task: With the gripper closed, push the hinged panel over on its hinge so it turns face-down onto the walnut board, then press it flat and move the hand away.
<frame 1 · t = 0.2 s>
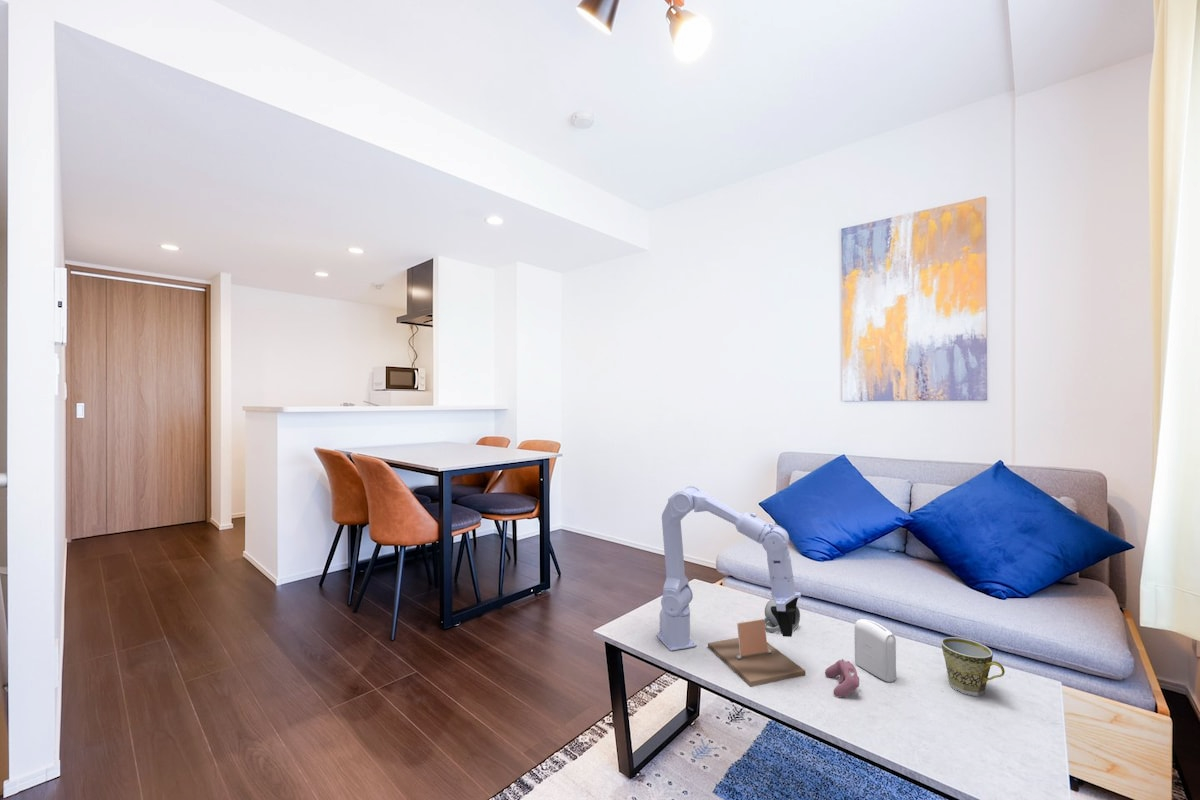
hand: (789, 629, 128), 11 cm above the table, tool pointing down, fingers open, 7 cm apart
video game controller: (842, 688, 121), on the table
hinged panel: (752, 638, 134), point 6 cm above the table, hinge at 80.0°
photo printer: (874, 672, 128), on the table
board: (754, 660, 133), on the table
ceramic mug: (779, 628, 152), on the table
ceramic cup: (972, 692, 119), on the table
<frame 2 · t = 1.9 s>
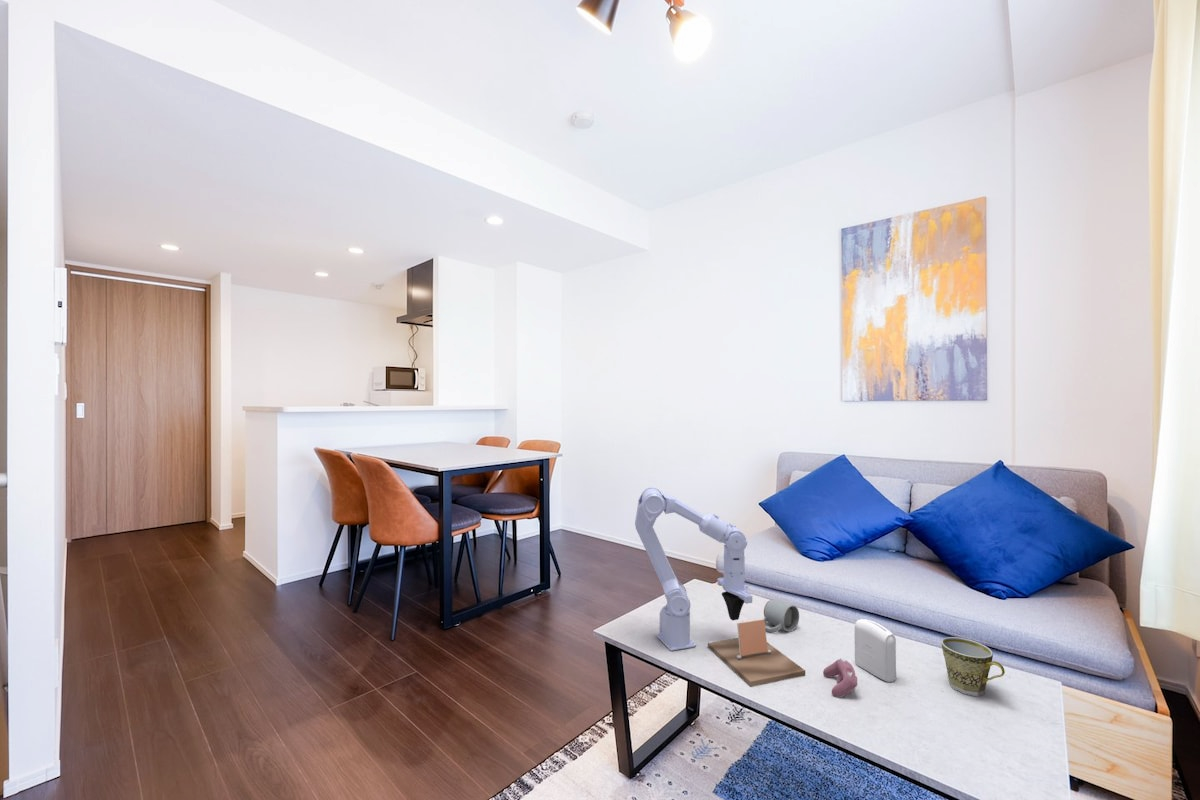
hand: (734, 619, 142), 7 cm above the table, tool pointing down, fingers closed
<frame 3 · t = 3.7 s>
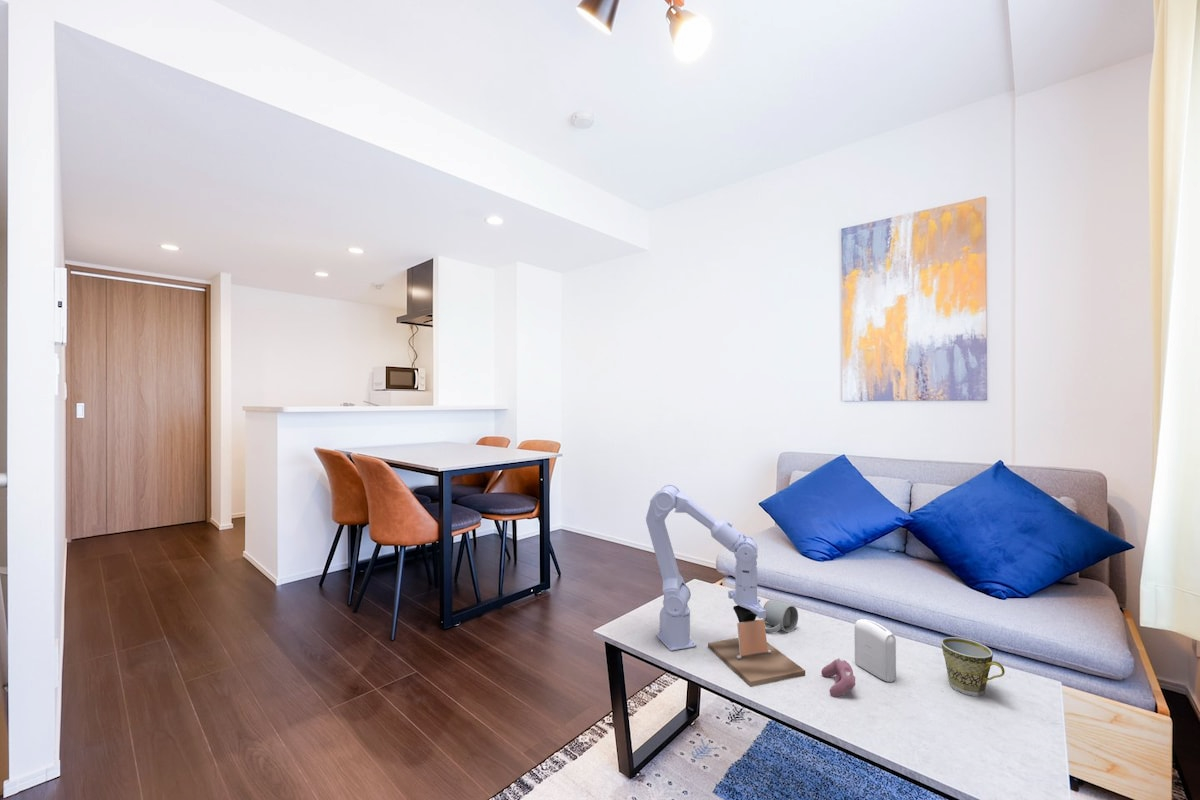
hand: (746, 633, 137), 5 cm above the table, tool pointing down, fingers closed
hinged panel: (752, 638, 134), point 6 cm above the table, hinge at 80.0°, touching gripper
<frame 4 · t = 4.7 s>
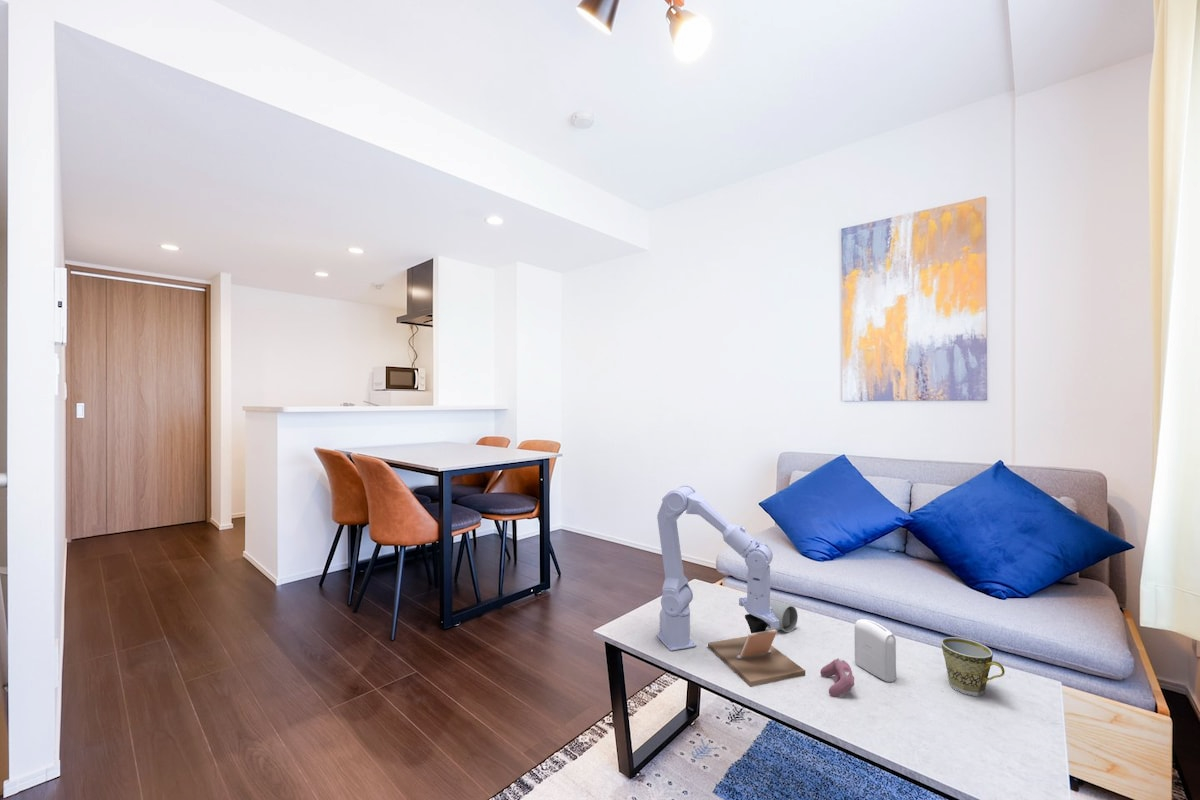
hand: (757, 643, 132), 5 cm above the table, tool pointing down, fingers closed, pressing on hinged panel
hinged panel: (758, 644, 131), point 5 cm above the table, hinge at 117.0°, touching gripper
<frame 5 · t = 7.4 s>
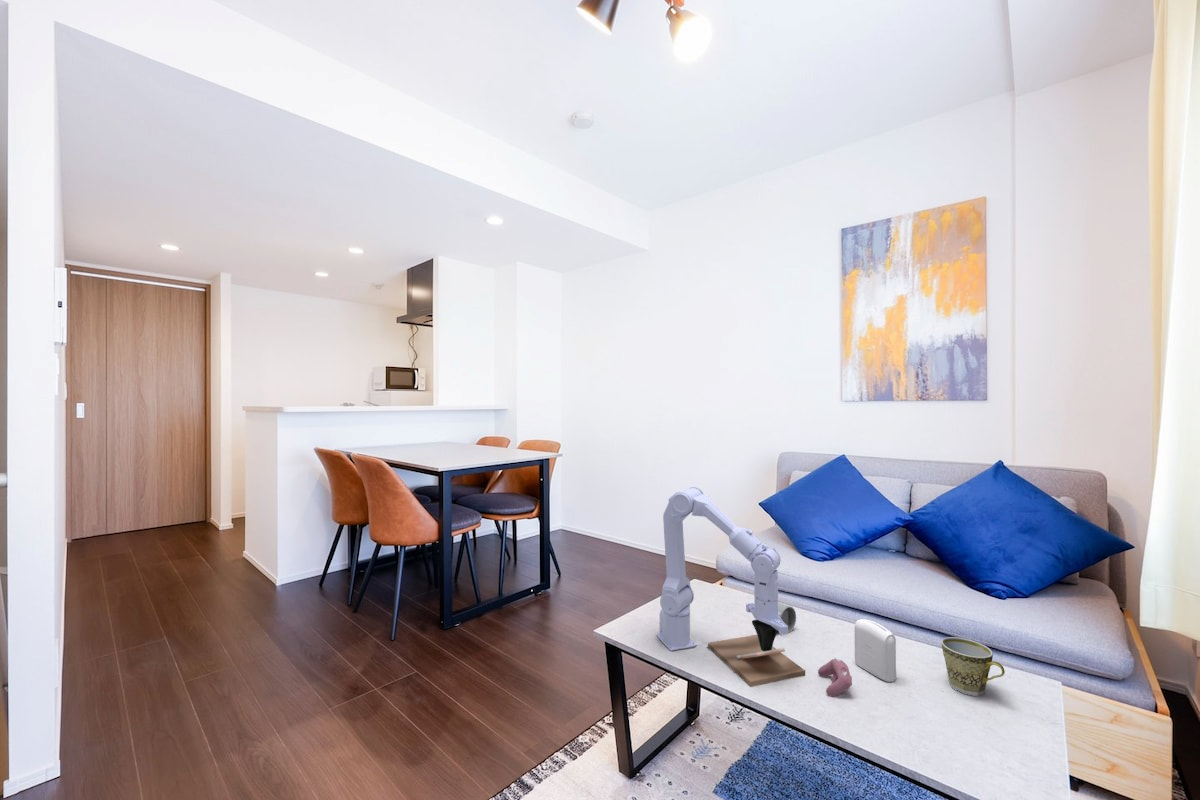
hand: (766, 650, 128), 5 cm above the table, tool pointing down, fingers closed
hinged panel: (762, 653, 130), point 4 cm above the table, hinge at 150.3°, touching gripper
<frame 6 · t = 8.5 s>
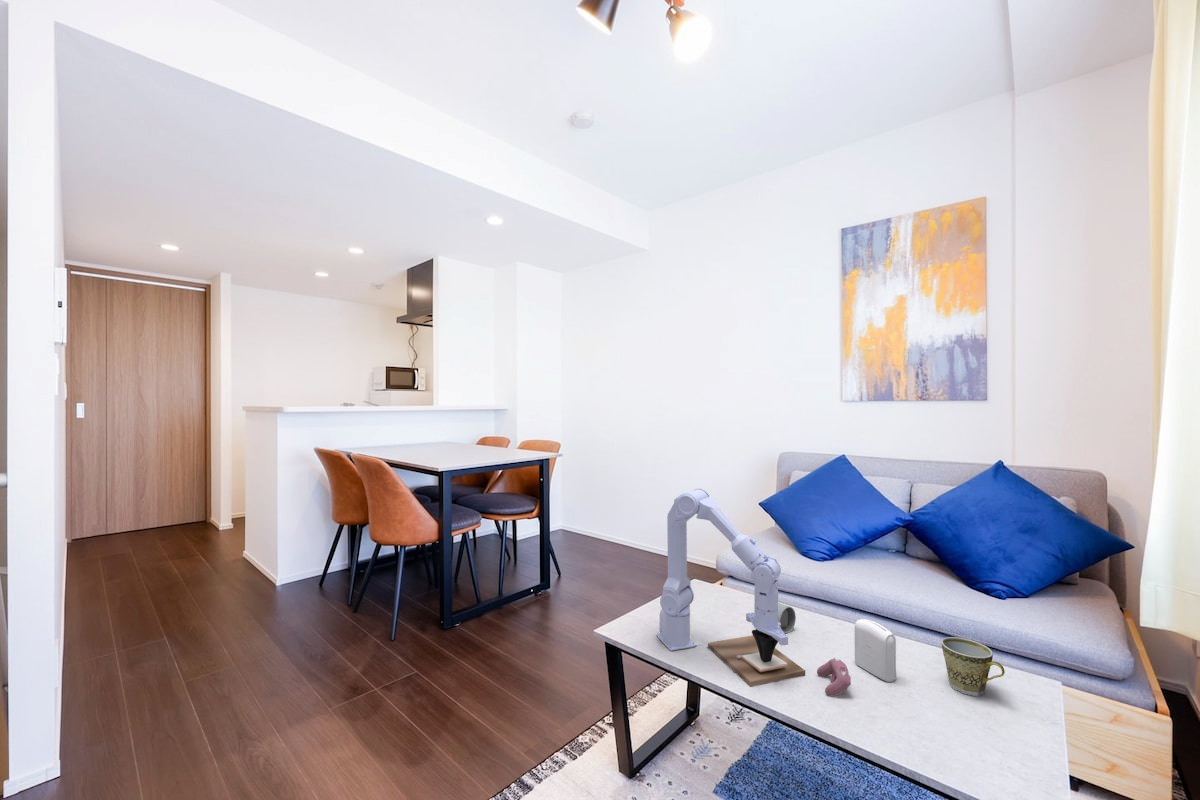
hand: (765, 660, 128), 3 cm above the table, tool pointing down, fingers closed
hinged panel: (763, 660, 129), point 2 cm above the table, hinge at 175.0°
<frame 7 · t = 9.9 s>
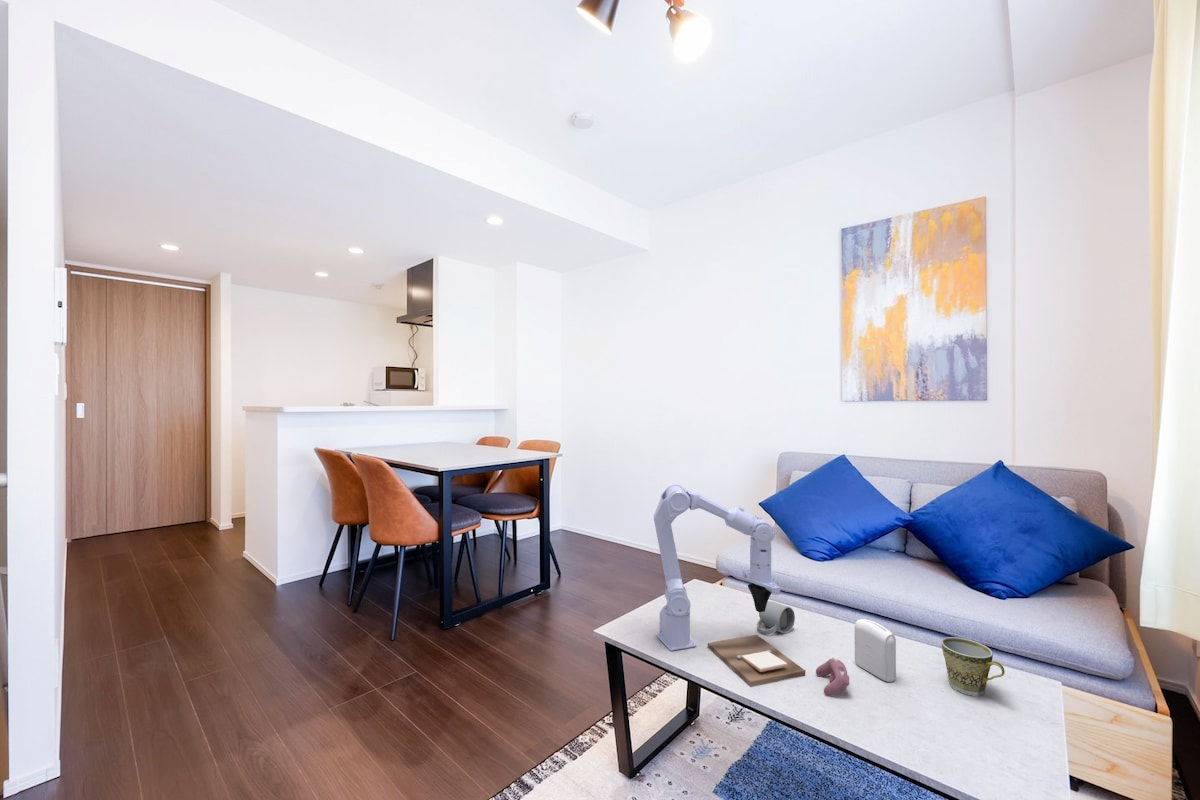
hand: (760, 610, 142), 9 cm above the table, tool pointing down, fingers closed
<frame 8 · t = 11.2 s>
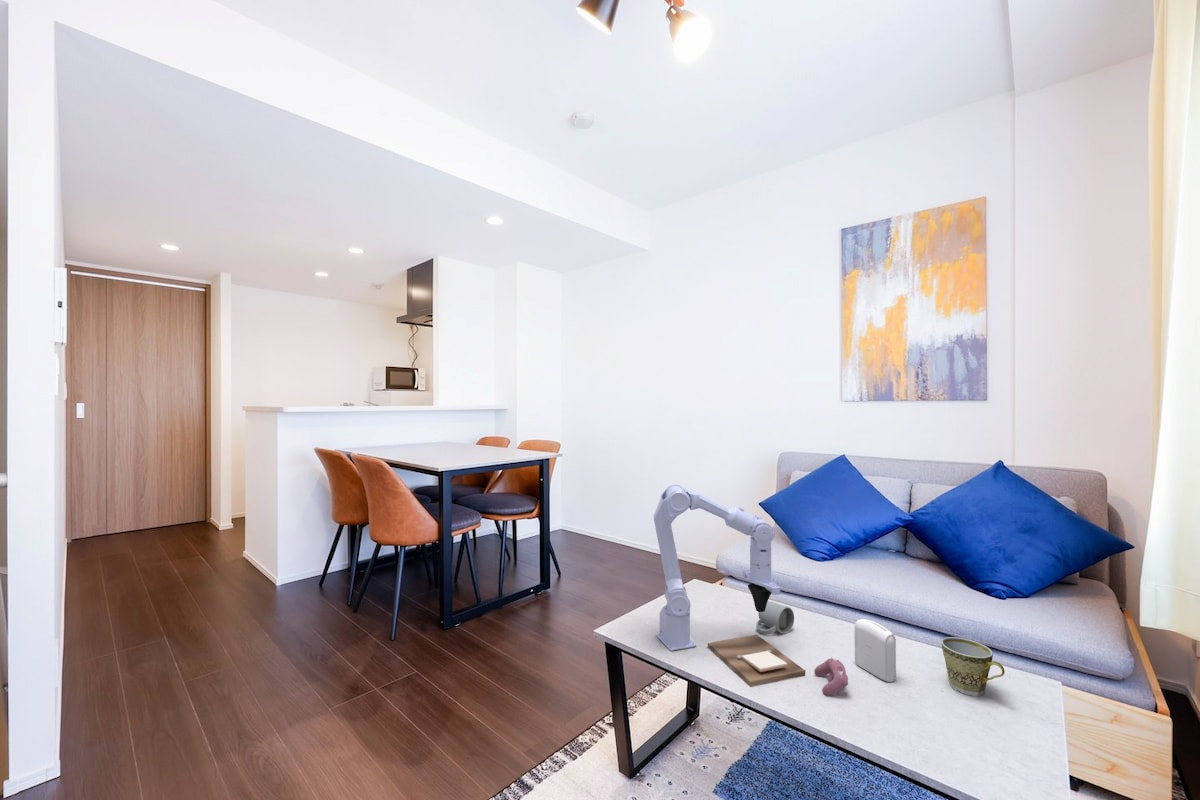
hand: (760, 610, 142), 9 cm above the table, tool pointing down, fingers closed
at the end: hinged panel at +175° (first picture: +80°); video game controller moved 2.6 cm from its start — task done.
